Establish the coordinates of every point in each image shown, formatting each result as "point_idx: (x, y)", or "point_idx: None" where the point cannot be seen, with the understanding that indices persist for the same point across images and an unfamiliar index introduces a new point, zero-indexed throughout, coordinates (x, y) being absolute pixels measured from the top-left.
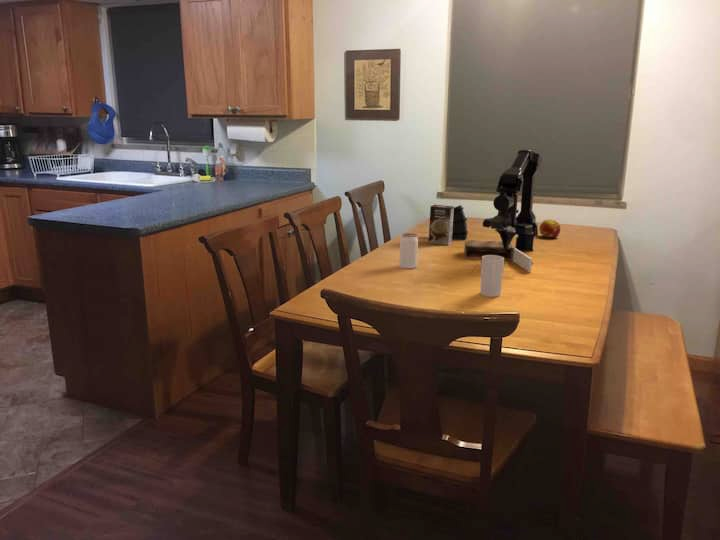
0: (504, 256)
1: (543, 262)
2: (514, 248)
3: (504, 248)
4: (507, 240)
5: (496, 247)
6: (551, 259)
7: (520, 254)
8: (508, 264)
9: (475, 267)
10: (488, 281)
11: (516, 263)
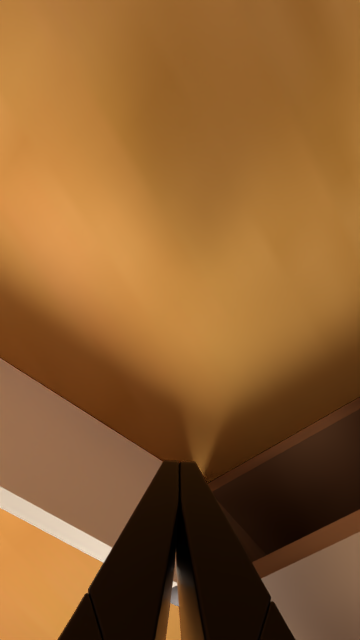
0: (273, 511)
1: (32, 566)
2: (176, 588)
3: (276, 553)
4: (84, 605)
5: (356, 524)
6: (50, 635)
7: (20, 474)
8: (148, 378)
9: (309, 36)
10: None
11: (121, 436)
